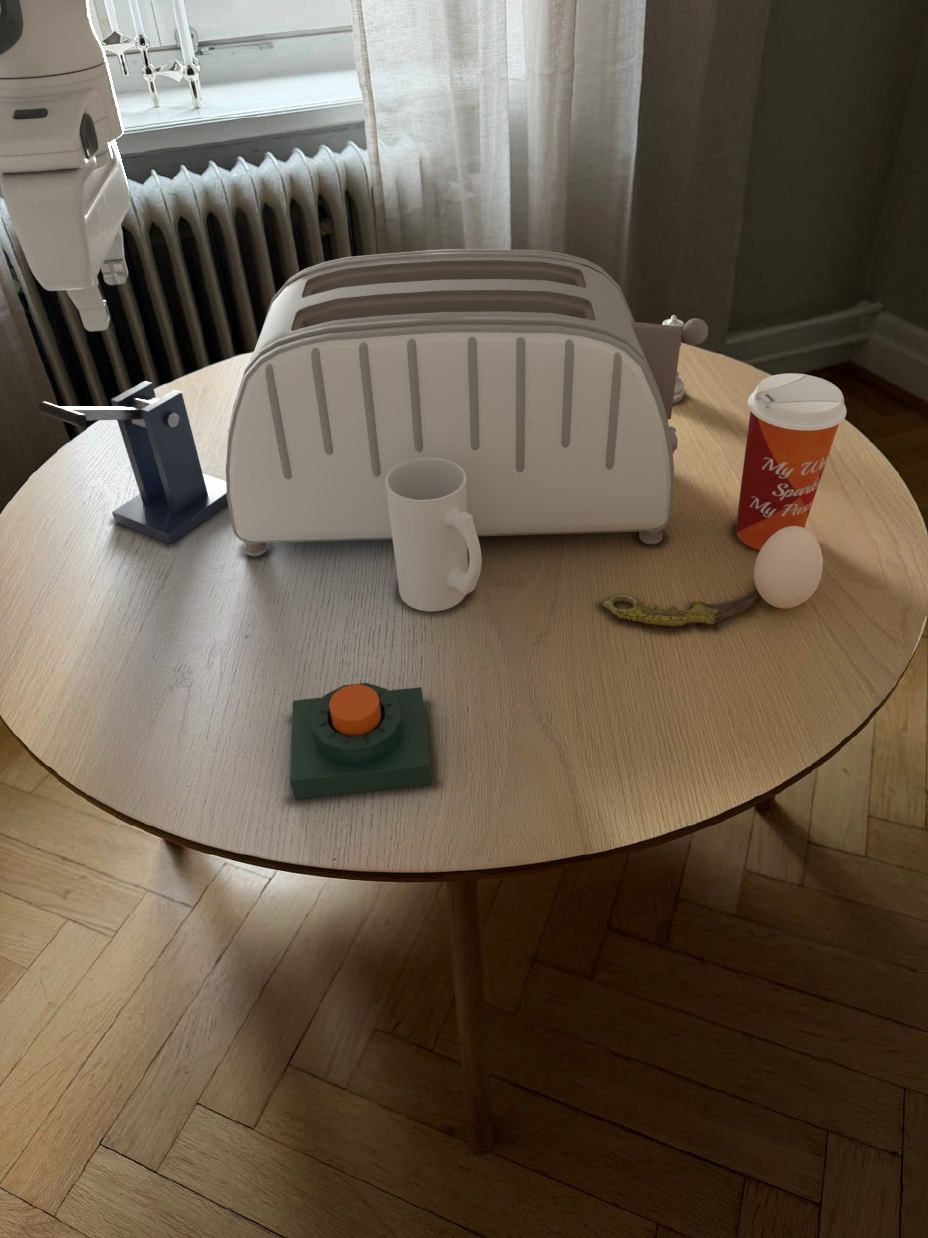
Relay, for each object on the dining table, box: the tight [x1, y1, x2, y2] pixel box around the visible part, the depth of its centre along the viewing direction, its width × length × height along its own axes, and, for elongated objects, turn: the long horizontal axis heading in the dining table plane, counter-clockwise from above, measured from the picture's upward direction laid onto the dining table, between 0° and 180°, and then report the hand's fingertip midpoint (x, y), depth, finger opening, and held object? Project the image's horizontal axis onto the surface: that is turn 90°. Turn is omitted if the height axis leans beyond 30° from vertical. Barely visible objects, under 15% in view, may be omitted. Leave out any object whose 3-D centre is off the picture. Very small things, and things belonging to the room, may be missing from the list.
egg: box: [753, 526, 824, 609], centre depth 79 cm, size 6×6×8 cm
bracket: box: [110, 380, 228, 545], centre depth 92 cm, size 10×8×13 cm
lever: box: [37, 397, 159, 428], centre depth 85 cm, size 12×5×2 cm, turn 149°
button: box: [329, 684, 381, 736], centre depth 67 cm, size 4×4×2 cm
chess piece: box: [662, 314, 685, 404], centre depth 107 cm, size 4×4×10 cm
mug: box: [385, 457, 483, 613], centre depth 79 cm, size 10×7×12 cm, turn 40°
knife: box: [602, 587, 760, 627], centre depth 80 cm, size 14×1×5 cm
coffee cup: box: [735, 372, 847, 551], centre depth 84 cm, size 8×8×15 cm
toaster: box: [225, 248, 709, 557], centre depth 88 cm, size 21×45×22 cm, turn 90°
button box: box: [289, 682, 433, 801], centre depth 68 cm, size 10×8×4 cm
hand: (108, 303), depth 74 cm, fingers open, 8 cm apart
